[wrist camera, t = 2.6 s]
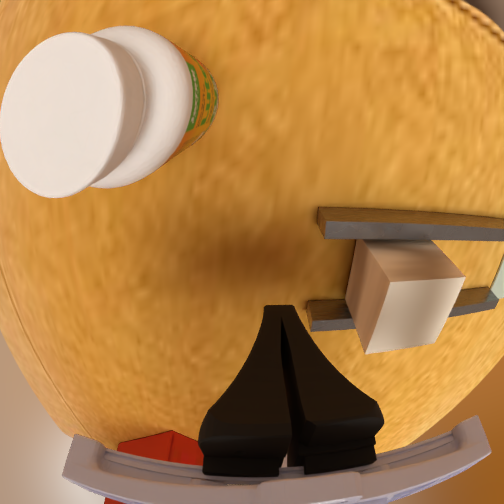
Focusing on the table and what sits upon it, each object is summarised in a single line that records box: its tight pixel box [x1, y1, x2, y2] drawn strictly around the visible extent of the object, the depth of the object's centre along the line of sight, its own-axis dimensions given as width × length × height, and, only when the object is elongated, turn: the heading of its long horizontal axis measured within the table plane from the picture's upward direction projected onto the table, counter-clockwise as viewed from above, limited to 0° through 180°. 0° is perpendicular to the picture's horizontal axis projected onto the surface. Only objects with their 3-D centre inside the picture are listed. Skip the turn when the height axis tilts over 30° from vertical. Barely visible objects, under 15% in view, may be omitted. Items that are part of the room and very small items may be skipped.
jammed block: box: [345, 239, 466, 354], centre depth 15 cm, size 5×5×5 cm
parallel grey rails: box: [307, 207, 504, 332], centre depth 17 cm, size 18×8×2 cm, turn 91°
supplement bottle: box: [0, 26, 218, 198], centre depth 8 cm, size 5×5×10 cm
